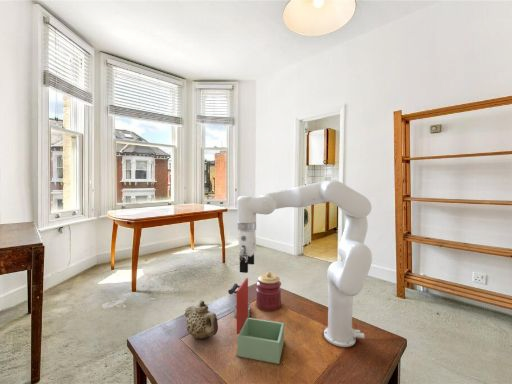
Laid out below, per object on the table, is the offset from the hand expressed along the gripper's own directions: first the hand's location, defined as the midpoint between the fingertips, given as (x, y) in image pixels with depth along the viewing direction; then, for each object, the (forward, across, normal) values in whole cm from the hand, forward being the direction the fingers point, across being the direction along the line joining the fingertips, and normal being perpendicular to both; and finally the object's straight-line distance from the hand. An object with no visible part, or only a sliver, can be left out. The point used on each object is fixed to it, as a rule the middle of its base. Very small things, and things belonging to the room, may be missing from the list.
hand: (247, 268), depth 99 cm
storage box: (+30, -4, -7) cm, 31 cm away
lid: (+13, -4, +1) cm, 14 cm away
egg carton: (+30, +19, +8) cm, 36 cm away
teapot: (+30, -3, +19) cm, 35 cm away
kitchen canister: (+30, +30, -3) cm, 43 cm away
